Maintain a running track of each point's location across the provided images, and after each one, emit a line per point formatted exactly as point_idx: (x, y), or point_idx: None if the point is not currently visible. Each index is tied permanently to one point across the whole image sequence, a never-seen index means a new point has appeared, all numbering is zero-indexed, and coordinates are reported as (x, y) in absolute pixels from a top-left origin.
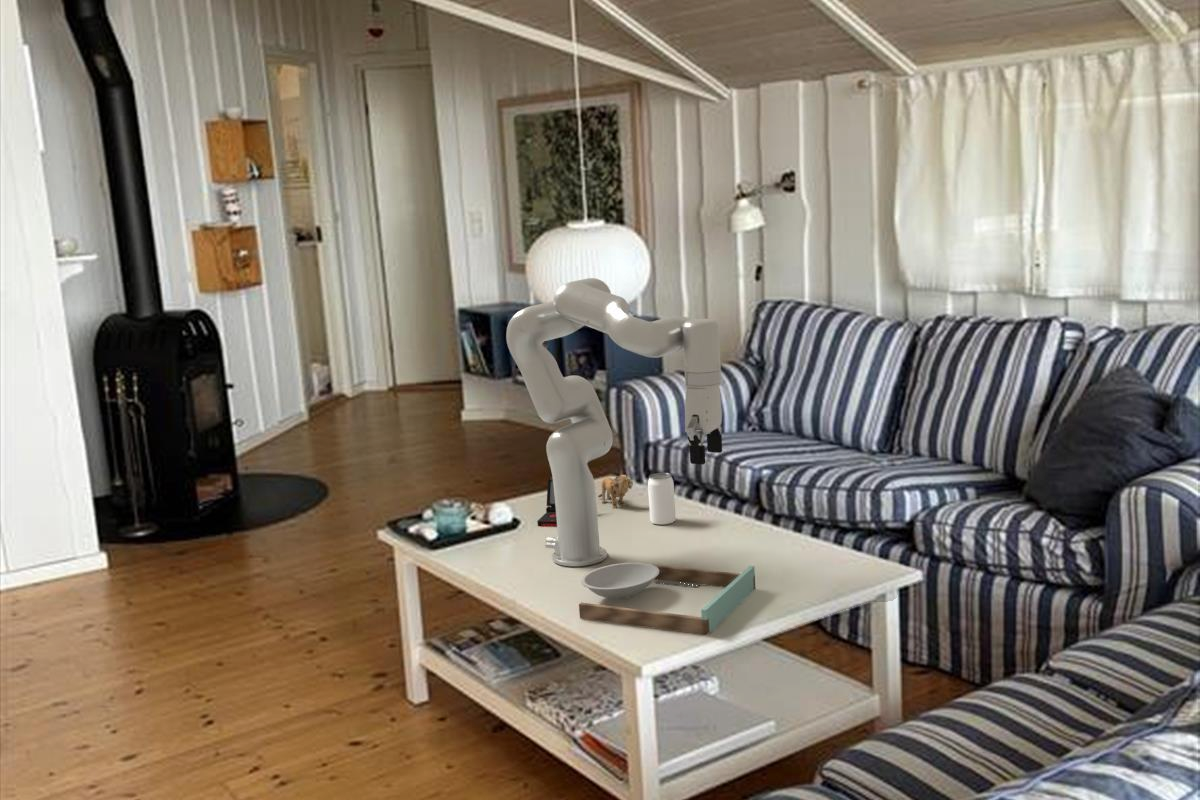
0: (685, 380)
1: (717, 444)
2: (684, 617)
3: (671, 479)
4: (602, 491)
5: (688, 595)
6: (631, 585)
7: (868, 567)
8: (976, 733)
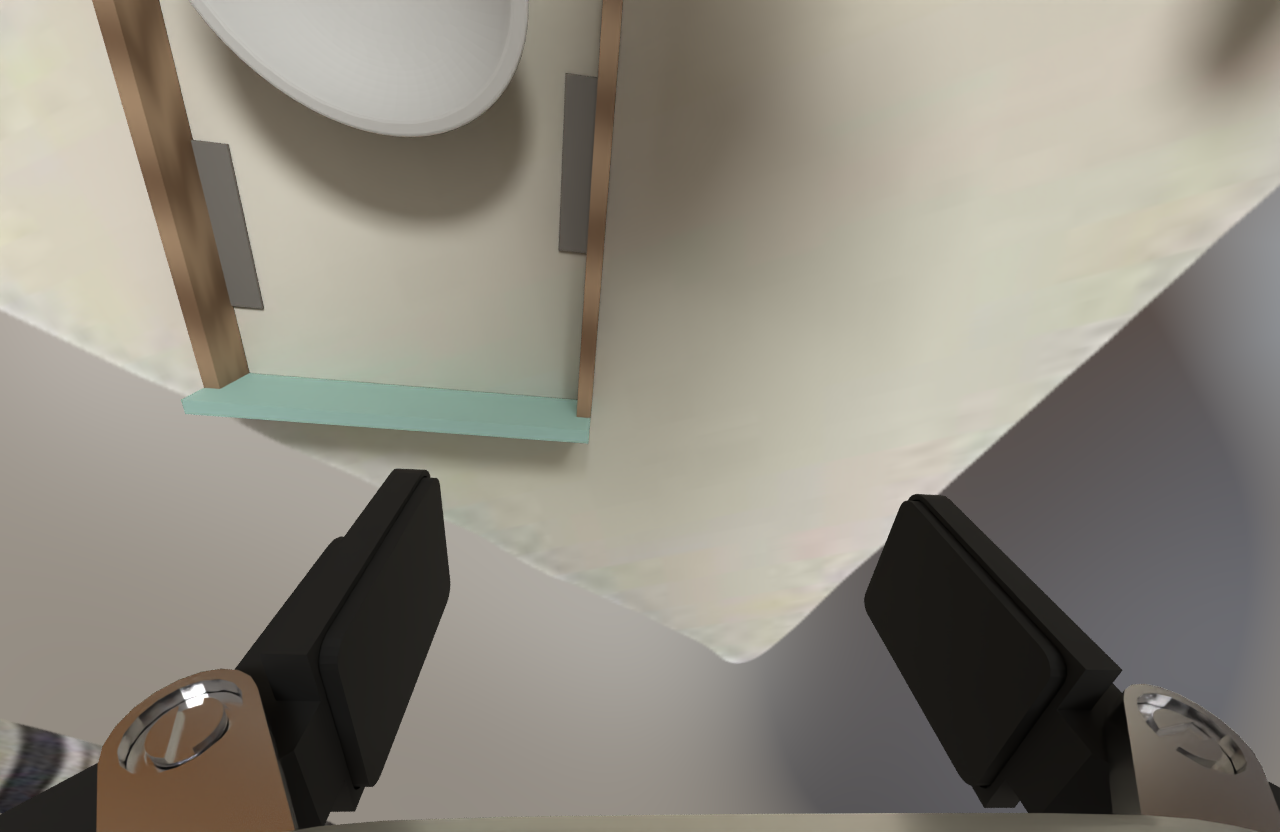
0: None
1: (913, 652)
2: (189, 335)
3: None
4: None
5: (488, 241)
6: (250, 60)
7: (772, 598)
8: None
